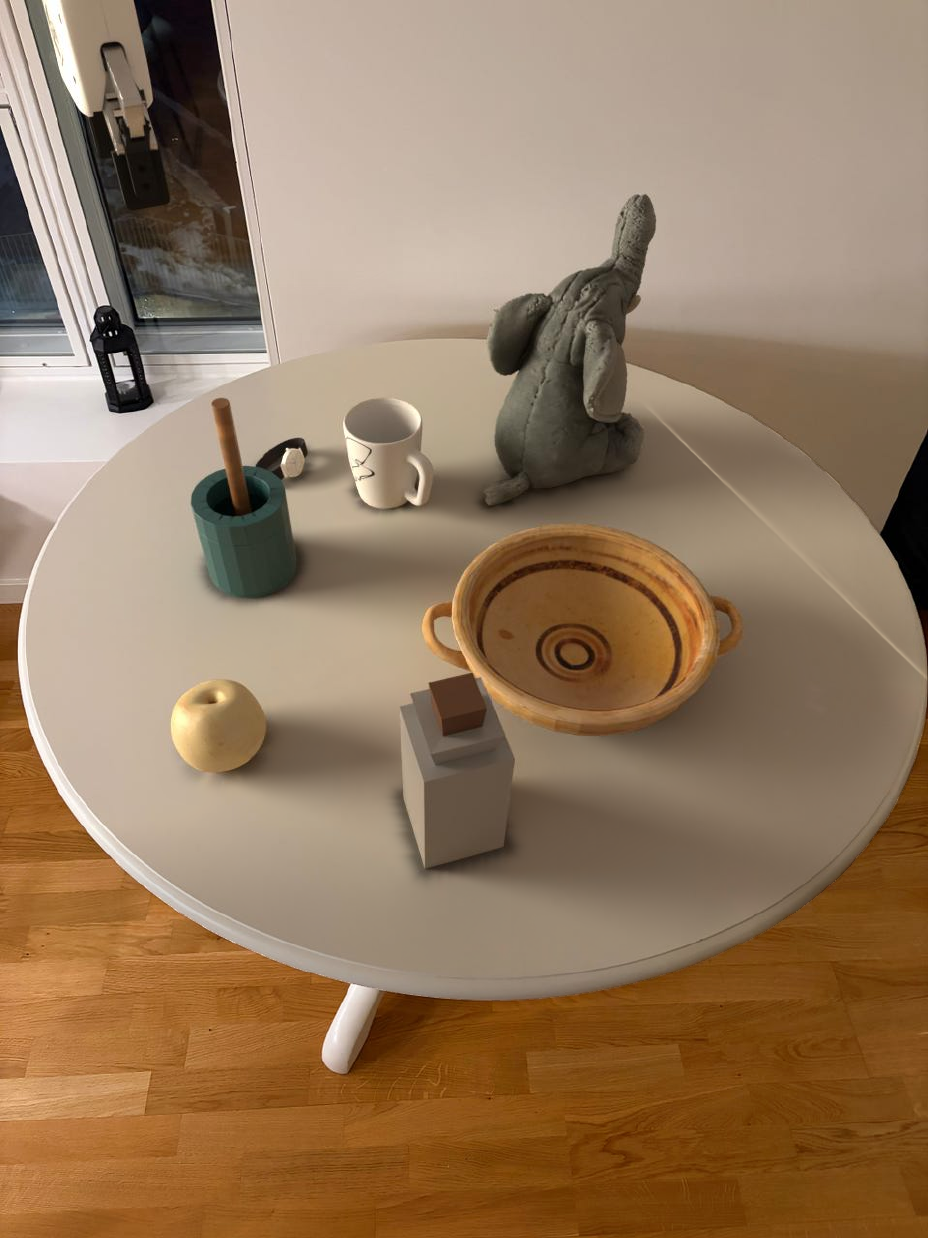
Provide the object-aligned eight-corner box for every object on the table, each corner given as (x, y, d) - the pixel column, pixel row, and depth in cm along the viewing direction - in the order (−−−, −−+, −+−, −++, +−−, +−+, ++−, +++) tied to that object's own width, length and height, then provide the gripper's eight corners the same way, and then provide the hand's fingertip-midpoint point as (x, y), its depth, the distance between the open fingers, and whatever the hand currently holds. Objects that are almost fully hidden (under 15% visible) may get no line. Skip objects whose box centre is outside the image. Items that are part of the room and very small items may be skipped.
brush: (242, 579, 93) (206, 418, 78) (232, 556, 95) (194, 396, 80) (275, 568, 94) (246, 408, 79) (265, 546, 96) (234, 387, 81)
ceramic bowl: (696, 574, 96) (713, 518, 90) (758, 769, 80) (785, 717, 74) (419, 580, 94) (418, 524, 88) (426, 781, 78) (426, 729, 72)
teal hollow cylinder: (223, 609, 91) (205, 537, 83) (199, 552, 96) (180, 480, 89) (308, 582, 94) (297, 510, 86) (280, 528, 99) (268, 456, 92)
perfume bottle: (403, 799, 77) (397, 669, 64) (478, 779, 79) (488, 648, 65) (424, 869, 73) (423, 746, 59) (503, 847, 74) (519, 722, 61)
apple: (204, 805, 76) (150, 739, 72) (202, 755, 83) (154, 693, 79) (285, 758, 76) (236, 691, 73) (277, 713, 83) (232, 649, 80)
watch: (279, 495, 103) (275, 470, 100) (246, 481, 104) (241, 456, 101) (318, 458, 107) (315, 433, 104) (286, 445, 109) (283, 421, 106)
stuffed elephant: (617, 399, 117) (655, 186, 97) (650, 506, 103) (704, 285, 83) (470, 402, 116) (478, 187, 95) (484, 511, 102) (497, 287, 81)
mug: (456, 504, 102) (458, 432, 95) (403, 540, 98) (401, 468, 91) (387, 458, 108) (384, 387, 100) (334, 491, 103) (326, 419, 96)
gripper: (-18, -129, 60) (62, 144, 72) (22, -67, 50) (107, 237, 62) (98, -135, 62) (155, 130, 75) (159, -77, 52) (213, 218, 65)
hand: (133, 179), depth 69 cm, fingers open, 9 cm apart
